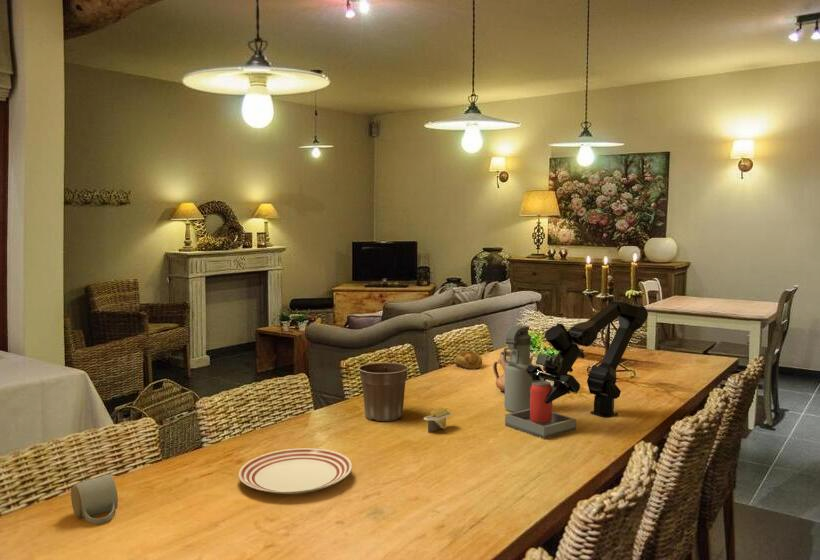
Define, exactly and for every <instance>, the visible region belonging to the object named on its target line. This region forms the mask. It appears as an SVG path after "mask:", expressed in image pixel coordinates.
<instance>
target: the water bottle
mask: <svg viewBox="0 0 820 560" xmlns="http://www.w3.org/2000/svg"><path fill="white" fill-rule="evenodd" d="M529 331H530V325H522V324H521V325H516V326H512V327H510V328H509V330H507V333H506V335H505V342H506V343H507V347H504V348H503V351H504V355H503V360H504V362H505V363H508V364H507V365H506V366H505V372H504V373H505V392H504V403H503V404H504V409H505V410H506V411H507V412H510V413H514V412H518V411H522V410H527V409H530V397H529V395H530V389H531V386H532V381H533V380H532V377H531V376H530V375H529V374H528V373H527V371H526V369H527V367H528V366H529V365H532V364H533V363H530V353H531V347H532V343H531V342H532V341H531V340H532V336H531V335H530V334H529ZM506 351H510V362H509V361H507V359H506Z"/></svg>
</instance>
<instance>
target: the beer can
mask: <svg viewBox="0 0 820 560" xmlns="http://www.w3.org/2000/svg"><path fill="white" fill-rule="evenodd" d="M552 388H553V386H552V385H551V382H550V381H549V380H545V381H543V380H537V381H533V382H532V386H531V389H530V420H531V421H532V422H535V423H540V424H545V423H549V422H551V420H552V412H553V401H552V402H550V403H548V404H546V403H545V400H546V398H547V396H548V394H549V393H550V391H551V390H552Z"/></svg>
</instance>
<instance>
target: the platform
mask: <svg viewBox="0 0 820 560" xmlns="http://www.w3.org/2000/svg"><path fill="white" fill-rule="evenodd" d="M430 413H431V414H430V415H427V416H424V417H423V420H425V421H427V433H431V432H434V431H437V430H439V429H443V430H445V429H447V417H448V418H449V417H451V415H452V414H451V412H450V411H448V408H446V407H441V408H438V409H435V410H432V411H430Z"/></svg>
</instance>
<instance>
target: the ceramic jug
mask: <svg viewBox="0 0 820 560" xmlns="http://www.w3.org/2000/svg"><path fill="white" fill-rule="evenodd" d="M503 355H504V350H503V351H500V352H499V358H498V359H495V360H494V361H493V363H492V369H493V370H492V371H493V374H494V376H495V378H496V380H495V386H496V387H497V389H498V390H500V391H502V392H504V393H505V366H506V365H507V364H508V363H505V362H504V360H503ZM506 359H507V361H509V362H510V350H506ZM533 360H534V354H533V353H531V352H530V363H531V364H532V365H535V366H538V364H536V363H533ZM498 364H499V365H500V366H501V367H502V369H503V371H504V373H503V374H502V375H500V376H499V372H498V369H497V368H498Z"/></svg>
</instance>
